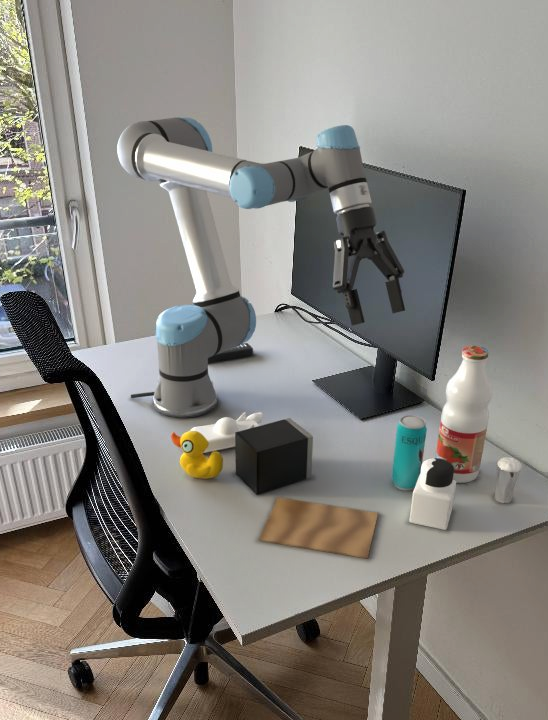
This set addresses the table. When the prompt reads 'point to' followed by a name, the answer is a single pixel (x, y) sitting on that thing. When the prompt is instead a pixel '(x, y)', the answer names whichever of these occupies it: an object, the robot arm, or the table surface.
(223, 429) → the white piece
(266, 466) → the desk bin
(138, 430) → the table surface
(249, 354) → the multiport hub
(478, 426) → the fruit juice
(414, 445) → the beverage can
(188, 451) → the duckling
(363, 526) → the wooden board
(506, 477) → the milkshake
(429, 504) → the medicine bottle
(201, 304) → the robot arm
